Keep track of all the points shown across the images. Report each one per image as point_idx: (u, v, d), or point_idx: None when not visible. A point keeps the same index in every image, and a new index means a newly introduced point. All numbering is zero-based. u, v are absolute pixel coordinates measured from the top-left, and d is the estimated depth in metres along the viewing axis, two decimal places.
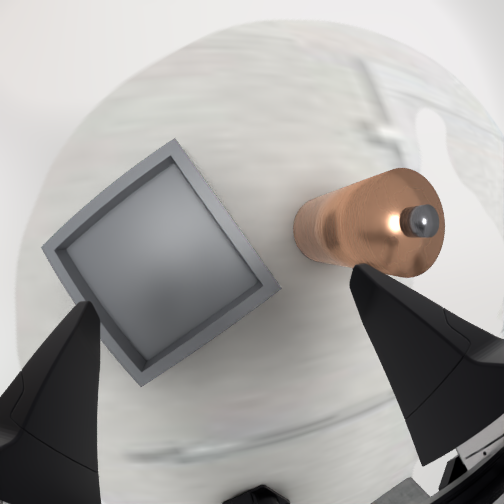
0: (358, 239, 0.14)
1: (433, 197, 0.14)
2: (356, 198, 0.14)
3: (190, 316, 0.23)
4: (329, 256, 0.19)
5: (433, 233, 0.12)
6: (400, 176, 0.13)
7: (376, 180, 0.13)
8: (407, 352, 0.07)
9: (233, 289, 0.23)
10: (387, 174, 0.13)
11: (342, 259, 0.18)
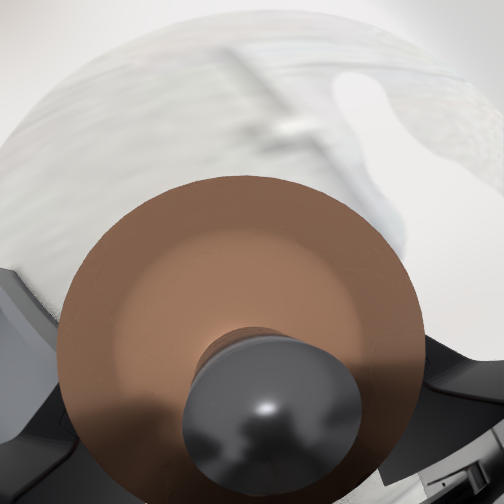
0: None
1: (345, 235, 0.04)
2: None
3: None
4: None
5: (326, 463, 0.02)
6: (160, 229, 0.04)
7: (76, 285, 0.04)
8: None
9: None
10: (100, 248, 0.04)
11: None
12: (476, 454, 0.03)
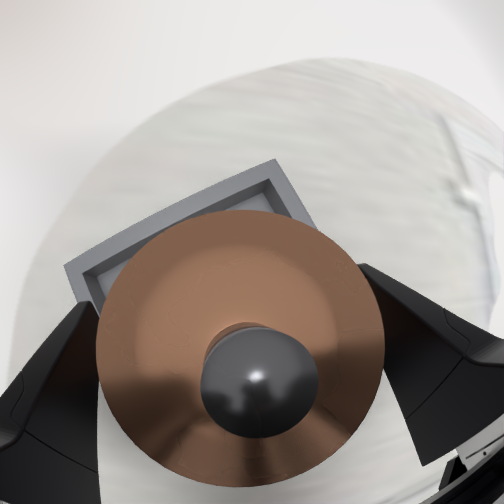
0: None
1: (317, 254, 0.05)
2: None
3: None
4: None
5: (296, 415, 0.03)
6: (178, 250, 0.05)
7: None
8: (407, 352, 0.07)
9: None
10: (132, 264, 0.05)
11: None
12: None
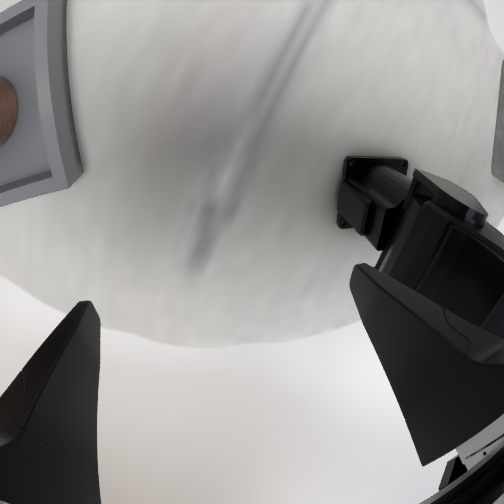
0: None
1: None
2: None
3: None
4: None
5: None
6: None
7: None
8: (407, 352, 0.07)
9: None
10: None
11: None
12: None
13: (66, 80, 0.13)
